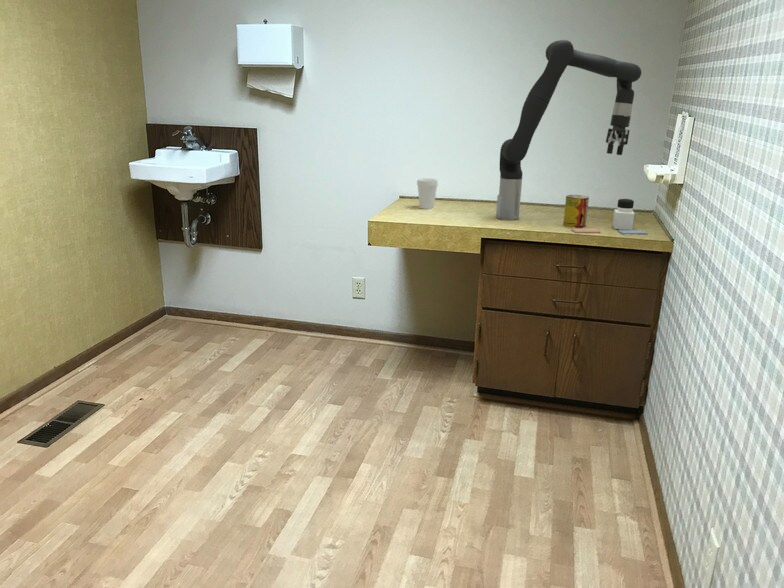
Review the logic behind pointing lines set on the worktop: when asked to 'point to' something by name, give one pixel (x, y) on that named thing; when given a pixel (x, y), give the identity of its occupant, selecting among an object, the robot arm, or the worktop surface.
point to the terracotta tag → (585, 230)
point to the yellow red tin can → (576, 211)
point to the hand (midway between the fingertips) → (614, 154)
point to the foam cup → (427, 192)
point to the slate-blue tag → (632, 232)
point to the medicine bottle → (624, 215)
